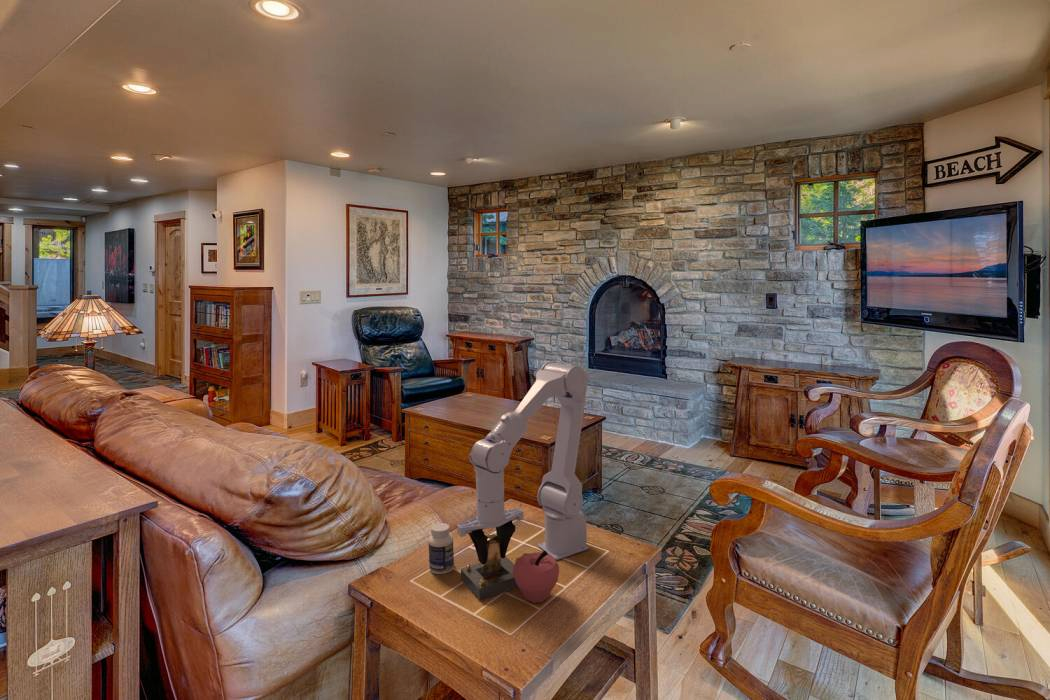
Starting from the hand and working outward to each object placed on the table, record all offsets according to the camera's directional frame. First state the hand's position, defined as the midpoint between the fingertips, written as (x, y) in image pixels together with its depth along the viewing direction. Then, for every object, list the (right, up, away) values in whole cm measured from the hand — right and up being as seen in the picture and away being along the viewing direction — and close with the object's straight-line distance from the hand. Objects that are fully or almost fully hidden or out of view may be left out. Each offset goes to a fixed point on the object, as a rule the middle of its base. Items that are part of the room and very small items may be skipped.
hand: (492, 559), depth 116 cm
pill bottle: (-12, -5, +7) cm, 14 cm away
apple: (+9, -6, -5) cm, 12 cm away
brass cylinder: (0, -2, 0) cm, 2 cm away
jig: (0, -5, +1) cm, 5 cm away
